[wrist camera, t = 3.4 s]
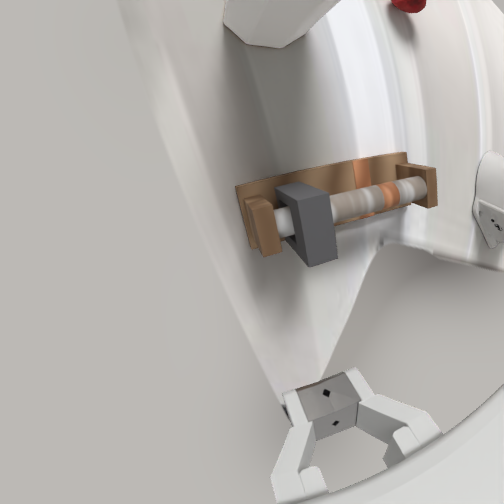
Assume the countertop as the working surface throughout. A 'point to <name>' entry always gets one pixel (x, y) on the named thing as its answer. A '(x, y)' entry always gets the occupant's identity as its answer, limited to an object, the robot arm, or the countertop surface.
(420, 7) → the onion
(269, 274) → the countertop surface
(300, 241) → the collar
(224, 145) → the countertop surface
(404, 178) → the pipe rack
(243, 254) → the countertop surface
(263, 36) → the cup
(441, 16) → the countertop surface
